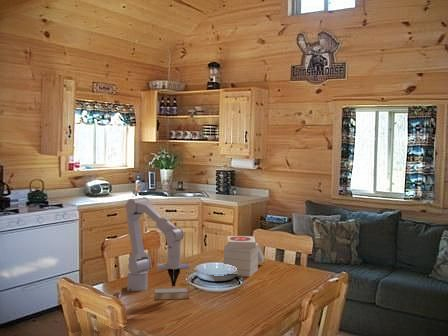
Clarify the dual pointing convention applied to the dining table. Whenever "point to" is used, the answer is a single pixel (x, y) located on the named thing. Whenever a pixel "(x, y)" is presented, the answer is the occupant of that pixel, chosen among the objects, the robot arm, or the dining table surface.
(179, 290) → the grey board
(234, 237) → the pizza boxes
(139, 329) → the dining table surface
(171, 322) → the dining table surface
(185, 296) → the walnut plank
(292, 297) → the dining table surface
